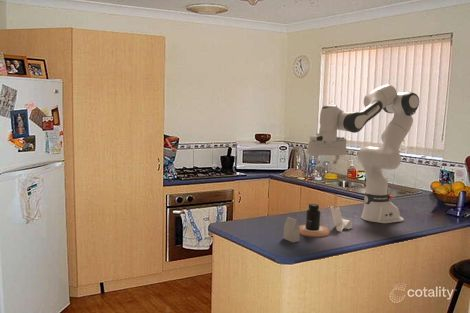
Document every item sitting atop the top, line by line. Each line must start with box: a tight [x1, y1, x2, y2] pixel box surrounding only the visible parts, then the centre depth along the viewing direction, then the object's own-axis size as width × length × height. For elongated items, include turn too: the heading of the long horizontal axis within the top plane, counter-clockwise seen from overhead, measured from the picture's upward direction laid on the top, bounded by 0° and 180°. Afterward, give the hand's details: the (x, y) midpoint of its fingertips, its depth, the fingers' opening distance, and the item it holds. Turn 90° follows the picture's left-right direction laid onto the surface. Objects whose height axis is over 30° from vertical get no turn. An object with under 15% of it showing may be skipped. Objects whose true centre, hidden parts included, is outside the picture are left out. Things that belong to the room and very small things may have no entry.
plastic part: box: [329, 205, 353, 233], centre depth 248 cm, size 8×10×12 cm
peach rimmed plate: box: [299, 224, 331, 238], centre depth 240 cm, size 16×16×2 cm
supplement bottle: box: [304, 203, 322, 231], centre depth 239 cm, size 7×7×12 cm
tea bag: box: [283, 216, 301, 243], centre depth 226 cm, size 4×7×10 cm, turn 33°
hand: (326, 164), depth 252 cm, fingers open, 8 cm apart
